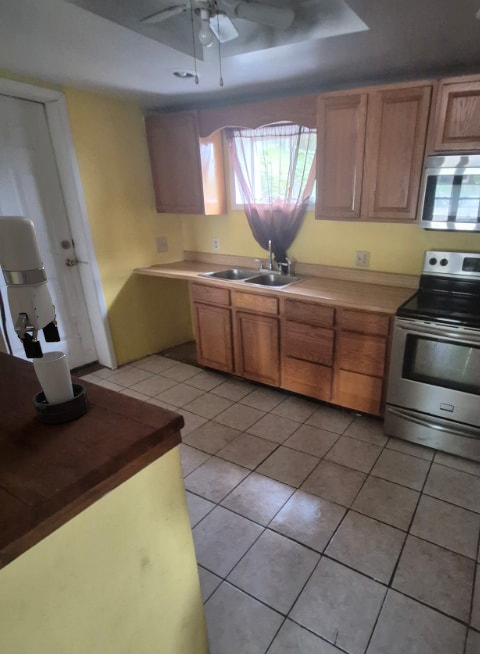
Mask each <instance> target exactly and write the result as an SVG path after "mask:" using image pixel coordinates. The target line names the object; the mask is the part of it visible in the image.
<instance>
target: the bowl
mask: <svg viewBox="0 0 480 654" xmlns="http://www.w3.org/2000/svg"><path fill="white" fill-rule="evenodd" d="M72 388H73V394H74V398H72V399H70V400H67V401H64V402H60V403H55V404H49V403H48V401H47V399H46V396H45V394H44V392H43V389H41V390H40V391H38V392H36V393H35V394H34V395H33V396H32V400H31V401H32V404H33V407H34V411H35V414H36V416H37V419H38V420H39V421H40V422H42V423H45V424H48V425H57V424H63V423H67V422H72V421H73V420H76V419H78V418H80V417H82V416H83V415H84V414H85V413H86V412H87V411H88V409H90V400H89V397H88V392H87V388H86V386H85V385H84V384H83V383H79V382H72Z"/></svg>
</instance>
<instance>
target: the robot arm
mask: <svg viewBox="0 0 480 654" xmlns="http://www.w3.org/2000/svg"><path fill="white" fill-rule="evenodd" d="M0 269H1V272H2V276H3V280H4V283H5V286H6V293H7V294H6V296H7V304H8V308H9V309H8V310H9V314H10V317H11V322H12V325H13V331H14V332H15V334H16V335H17V338H18V339H19V341H20V343H21V344H22V347H23V350H24V354H25V358H26V359H28V360H29V359H30V360H31V359H32V360H33V358H42V357H43V353H44V352H43V349H42V345H41V342H40V340H38V335H39V331H42V335H43V337H44V341H45V343H47V344H48V343H50V344H51V343H60V342H61V335H60V332H59V328H58V321H57V314H56V306H55V305H54V304H53V303H54V302H53V300H52V296H51V293H50V289H49V287H48V284H47V283H48V282H49V281H48V277H47V272H46V268H45V265H44V261H43V255H42V252H41V247H40V243H39V239H38V234H37V232H36V227H35V223H34V221H33V220H32V219H31V218H29V217H27V216H23V215H0ZM30 333H31V334H30Z"/></svg>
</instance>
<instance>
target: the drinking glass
mask: <svg viewBox="0 0 480 654" xmlns="http://www.w3.org/2000/svg"><path fill="white" fill-rule="evenodd" d="M32 365H33V368H34V372H35V375H36V377H37V380H38V382H39V385H40V387H41V390H43V392H44V394H45V396H46V399H47V401H48V403H49V404H55V403H60V402H64V401H67V400H70V399H72V398H74V394H73V388H72V383H73V382H72V376H71V370H70V366H69V361H68V359H67V356H66V353H65V352H64V351H61V350H60V351H58V350H53V351H47V352H43V357H42V358H33V359H32Z"/></svg>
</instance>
